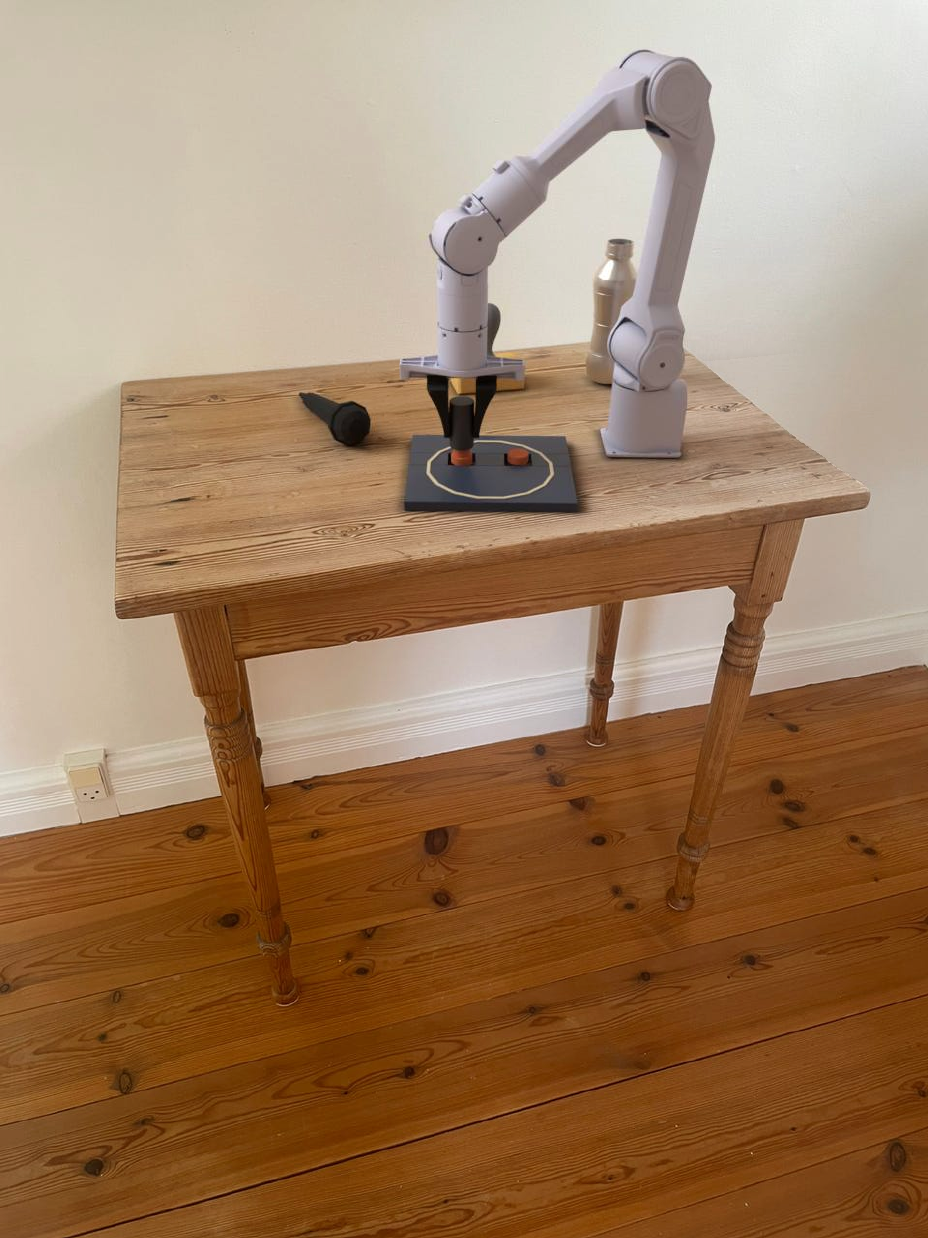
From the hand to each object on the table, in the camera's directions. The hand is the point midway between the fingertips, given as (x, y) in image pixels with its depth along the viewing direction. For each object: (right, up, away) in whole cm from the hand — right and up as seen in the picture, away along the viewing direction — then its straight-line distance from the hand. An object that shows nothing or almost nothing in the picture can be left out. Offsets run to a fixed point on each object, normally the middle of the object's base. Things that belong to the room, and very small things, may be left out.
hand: (461, 434), depth 113 cm
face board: (+3, -5, +1) cm, 6 cm away
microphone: (-17, +4, +13) cm, 22 cm away
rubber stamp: (+4, +12, +25) cm, 28 cm away
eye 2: (+7, -4, +3) cm, 8 cm away
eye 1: (0, -4, +3) cm, 5 cm away
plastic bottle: (+22, +13, +26) cm, 36 cm away
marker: (0, -2, +2) cm, 3 cm away
